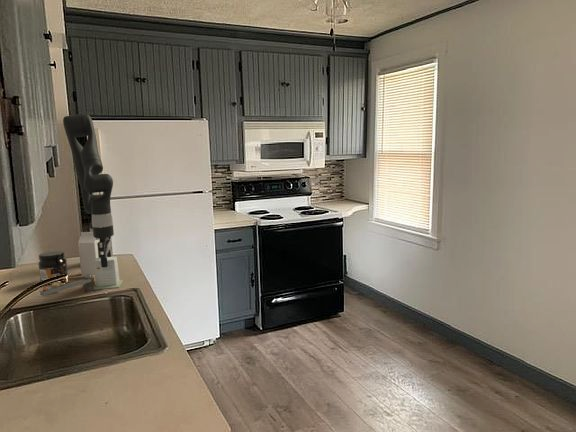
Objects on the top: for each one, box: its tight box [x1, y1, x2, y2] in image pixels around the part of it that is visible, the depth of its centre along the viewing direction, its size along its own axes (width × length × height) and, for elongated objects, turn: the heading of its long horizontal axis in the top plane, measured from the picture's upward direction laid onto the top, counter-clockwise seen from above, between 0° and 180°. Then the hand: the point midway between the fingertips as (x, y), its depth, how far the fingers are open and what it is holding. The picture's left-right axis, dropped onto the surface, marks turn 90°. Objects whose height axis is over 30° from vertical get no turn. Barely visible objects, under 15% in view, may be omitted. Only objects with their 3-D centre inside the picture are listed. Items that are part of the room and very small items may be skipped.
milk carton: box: [77, 231, 103, 276], centre depth 188 cm, size 7×7×19 cm
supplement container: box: [37, 250, 69, 282], centre depth 180 cm, size 10×10×12 cm
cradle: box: [50, 275, 96, 294], centre depth 171 cm, size 15×15×3 cm
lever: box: [39, 275, 93, 297], centre depth 159 cm, size 3×19×3 cm, turn 146°
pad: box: [93, 278, 123, 291], centre depth 173 cm, size 10×10×1 cm
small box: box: [93, 256, 120, 286], centre depth 173 cm, size 8×6×10 cm
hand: (106, 264), depth 173 cm, fingers open, 8 cm apart
